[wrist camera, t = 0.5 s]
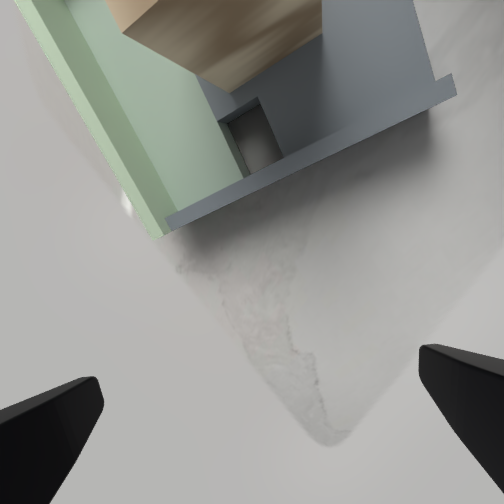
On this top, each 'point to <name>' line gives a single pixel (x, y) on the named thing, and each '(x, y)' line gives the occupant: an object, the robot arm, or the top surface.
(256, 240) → the top surface
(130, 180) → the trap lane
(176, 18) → the beech block
